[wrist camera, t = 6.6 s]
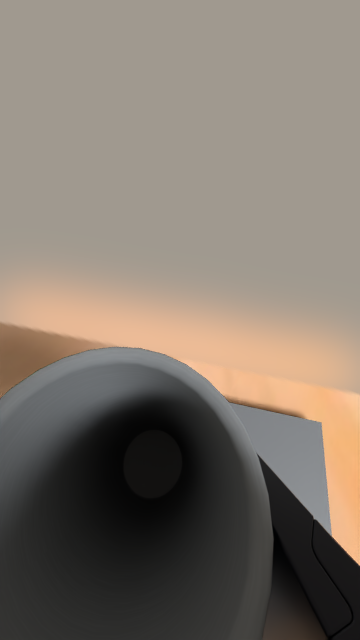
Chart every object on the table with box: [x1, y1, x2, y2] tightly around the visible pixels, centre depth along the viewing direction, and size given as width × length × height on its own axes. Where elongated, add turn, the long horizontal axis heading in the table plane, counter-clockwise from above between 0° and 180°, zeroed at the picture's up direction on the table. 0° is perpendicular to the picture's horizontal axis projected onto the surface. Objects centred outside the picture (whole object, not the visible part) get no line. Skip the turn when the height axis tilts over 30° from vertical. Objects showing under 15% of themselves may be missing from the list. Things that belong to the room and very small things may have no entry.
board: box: [229, 403, 332, 536], centre depth 17 cm, size 20×16×2 cm
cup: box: [0, 347, 273, 640], centre depth 11 cm, size 7×7×15 cm
